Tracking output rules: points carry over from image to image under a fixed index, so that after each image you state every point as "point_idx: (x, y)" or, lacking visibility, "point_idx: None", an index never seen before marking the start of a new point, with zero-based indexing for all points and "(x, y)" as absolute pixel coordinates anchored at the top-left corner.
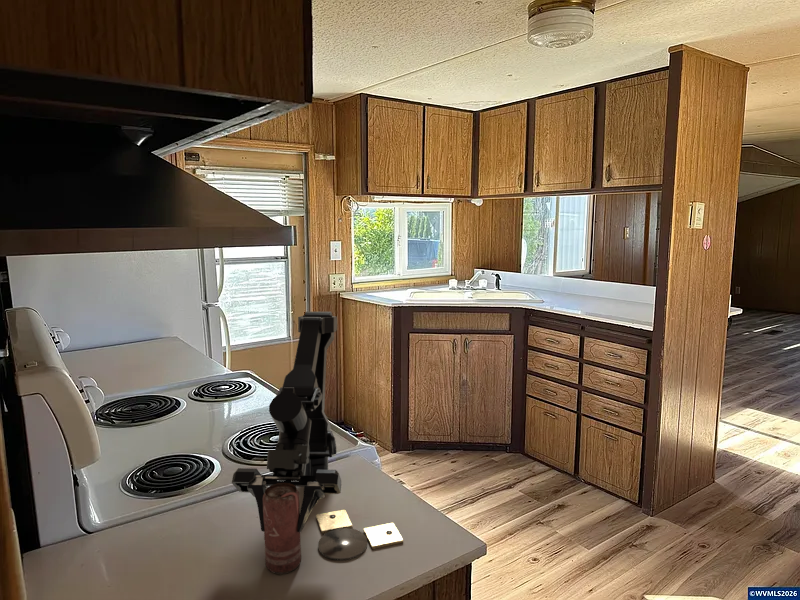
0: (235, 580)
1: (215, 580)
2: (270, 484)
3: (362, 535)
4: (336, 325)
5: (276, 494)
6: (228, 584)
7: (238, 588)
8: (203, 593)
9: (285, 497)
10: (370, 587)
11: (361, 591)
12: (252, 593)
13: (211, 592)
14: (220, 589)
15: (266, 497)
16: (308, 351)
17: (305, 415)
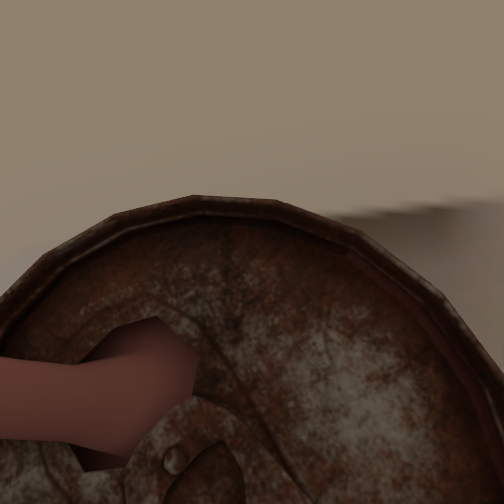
0: (412, 265)
1: (482, 259)
2: None
3: None
4: None
5: (259, 398)
6: (426, 245)
7: (383, 231)
8: (486, 199)
9: (95, 312)
10: (12, 271)
11: (35, 253)
12: (330, 215)
13: (462, 205)
14: (440, 221)
15: (401, 267)
16: None
17: None
